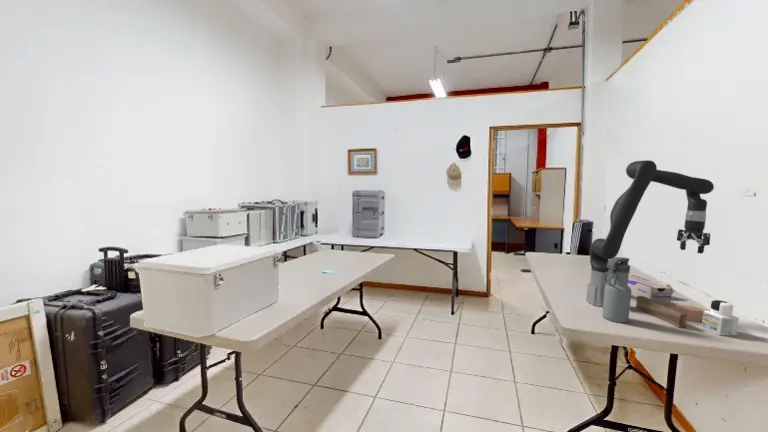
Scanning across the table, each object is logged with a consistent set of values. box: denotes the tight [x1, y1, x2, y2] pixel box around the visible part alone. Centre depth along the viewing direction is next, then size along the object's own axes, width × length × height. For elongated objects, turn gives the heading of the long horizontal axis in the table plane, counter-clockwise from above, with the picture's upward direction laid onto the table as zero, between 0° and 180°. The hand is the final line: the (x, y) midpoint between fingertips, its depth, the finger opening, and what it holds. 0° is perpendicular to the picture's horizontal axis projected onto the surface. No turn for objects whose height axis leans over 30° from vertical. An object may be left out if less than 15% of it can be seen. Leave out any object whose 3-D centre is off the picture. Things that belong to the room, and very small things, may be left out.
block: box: [674, 304, 707, 322], centre depth 159 cm, size 8×8×5 cm
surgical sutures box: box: [628, 274, 673, 307], centre depth 183 cm, size 25×11×11 cm, turn 2°
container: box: [701, 299, 740, 336], centre depth 144 cm, size 8×8×13 cm
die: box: [657, 282, 675, 297], centre depth 189 cm, size 8×9×10 cm
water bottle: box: [601, 256, 632, 324], centre depth 153 cm, size 10×10×28 cm
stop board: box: [635, 296, 687, 329], centre depth 159 cm, size 3×24×6 cm, turn 2°
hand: (691, 251), depth 172 cm, fingers open, 8 cm apart
